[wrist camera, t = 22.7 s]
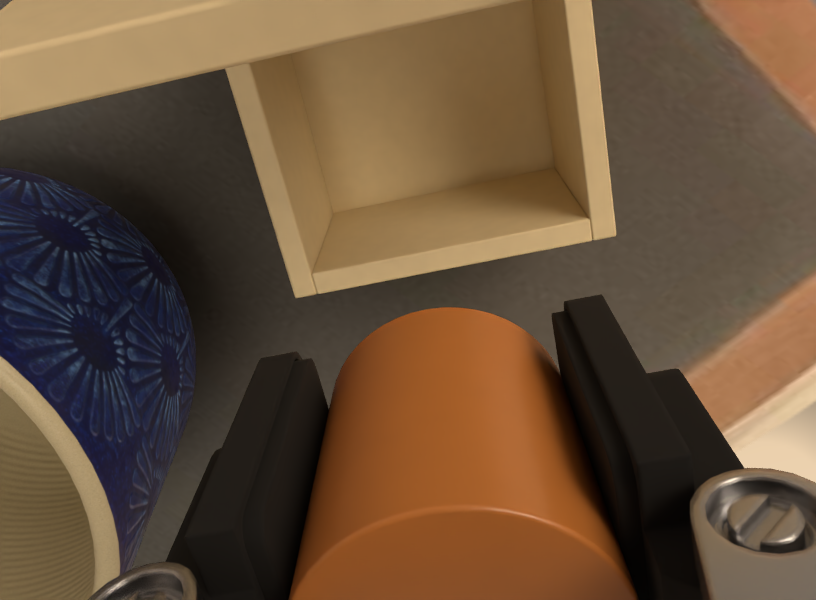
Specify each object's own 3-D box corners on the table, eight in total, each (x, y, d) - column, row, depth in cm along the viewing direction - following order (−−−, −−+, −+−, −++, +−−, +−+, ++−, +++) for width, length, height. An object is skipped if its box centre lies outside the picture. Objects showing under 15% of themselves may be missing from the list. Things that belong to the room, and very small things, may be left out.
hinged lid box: (572, 176, 31) (616, 236, 24) (322, 227, 33) (294, 299, 25) (529, -160, 26) (569, -207, 19) (235, -86, 28) (171, -105, 20)
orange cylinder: (551, 285, 10) (632, 480, 6) (577, 488, 12) (657, 751, 8) (306, 328, 11) (237, 538, 7) (360, 520, 12) (329, 788, 8)
